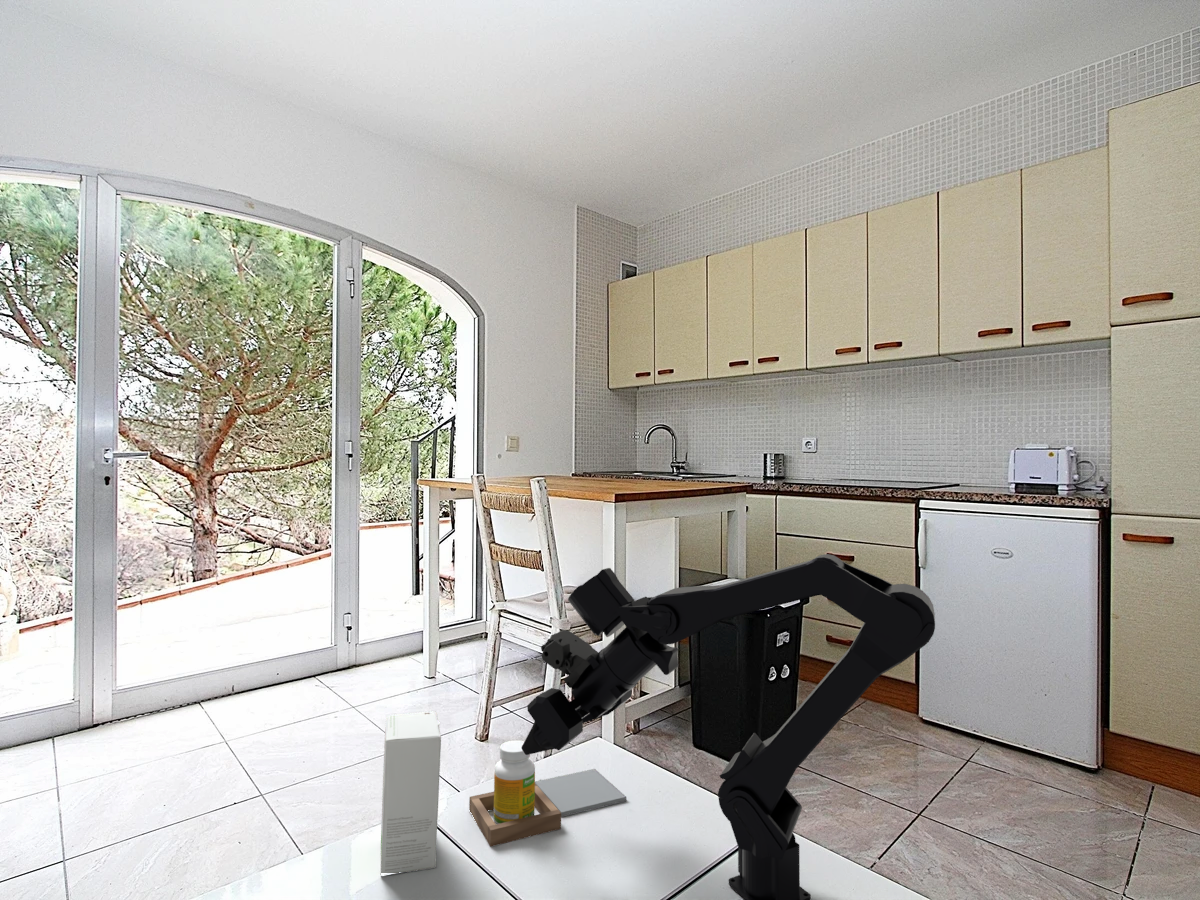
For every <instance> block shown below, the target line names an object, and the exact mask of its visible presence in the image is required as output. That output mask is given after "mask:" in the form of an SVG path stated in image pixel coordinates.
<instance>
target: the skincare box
mask: <svg viewBox="0 0 1200 900" xmlns="http://www.w3.org/2000/svg"><path fill="white" fill-rule="evenodd" d="M385 718H386V719H385V728H384V729H385V730H384V743H383V744H384V746H383V747H384V748H383V766H382V767H383V772H382V792H381V793H382V795H381V797H382V799H381V824H380V825H381V831H380V832H381V833H380V874H381V873H399V872H407V873H412V872H411V871H413V872H418V870H419V871H425V870H429V869H435V868H436V863H437V861H436V860H437V841H438V840H437V839H438V837H437V836H438V816H439V815H438V814H439V797H440V795H439V793H440V792H439V791H440V772H441V750H442V749H441V748H442V736H441V729H440V725H441V722H440V720H439V719H438V714H437V710H433V711H432V710H431V711H423V712H422V711H421V712H420V711H419V712H411V713H401V714H397V713H396V714H389V715H386V717H385ZM416 870H417V871H416ZM409 871H410V872H409Z"/></svg>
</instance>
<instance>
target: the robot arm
mask: <svg viewBox="0 0 1200 900" xmlns="http://www.w3.org/2000/svg"><path fill="white" fill-rule="evenodd" d="M816 596H821V597H822V596H823V597H824V598H826V599H828V600H830V601H831V602H832V603H834V604H836V605H837V606H838V607H840V608H841V609H843V611H845V612H847V613H849V614H850V615H851V616H853V617H854V618H856V619H857V620H859V621H861V622H862V623H863V624H862V626H861V627H860V629H859V631H858V633H857V635H856V637H855V638H854V640H853V642H852V644H851V645H850V646H849V648H848V649H847V650H846V651H845V652H844V654H843V655H842V656H841V657H840V658H839V659H838V660H837V662H836V663H835V664H834V665H833V667H831V669H830V670H829V671H828V672H827V673H826V675H825V676H824V677H823V678H822V679H821V680H820V682H818V684H817V685H816V686H815V688H813V690H812V691H811V692H810V693H809V695H807V697H806V698H805V699H804V700H803V702H802V703H800V704H799V705H798V707H797V708H796V710H794V711H793V713H792V714H791V715H790V717H789V718H788V719H787V720H786V721H785V722H784V723H783V724H782V726H781V727H780V728H779V729H778V730H777V731H776V732H775V734H773V735H772V736H770V737H768V738H767V739H765V740H763V741H762V740H761V738H760V737H759V735H757V733H756V732H753V733H752V735H751V736H750V737H749V739H748V740H747V742H746V743H745V745H744V746H743V748H742V749H741V750H740V751H738V752H736V753H735V754H734V755H733V756H732V758H731V759H730V760H729V762H728V764H727V765H726V766H725V768H724V769H723V771H722V772H721V773H720V775H719V778H720V779H721V780H723V782H722V783H721V785H720V786H719V789H718V792H717V798H718V803H719V807H720V809H721V812H722V814H723V816H724V817H726V819H727V821H728V822H729V824H730V826H731V829H732V832H733V835H734V838H735V841H736V845H737V847H738V848H737V851H738V852H737V856H738V857H737V862H738V863H737V870H738V873H739V874H738V875H735V876H733V877H729V878H728V886H729V887H730V888H732V889H733V890H734V891H735V892H736V893H737V894H739V895H740V896H741V897H742V898H743V899H744V900H810V899H811V897H812V896H811V893H810V892H808V891H807V890H806V889H805V888H803V887H802V886H800V883H801V882H800V872H801V870H800V868H801V867H800V862H801V861H800V844H799V843H798V842H797V841H796V836H795V834H794V833H793V832H794V831H795V828H796V825H797V822H798V820H799V817H800V815H801V812H802V809H803V806H802V805H801V803H800V802H799V801H798V800H797V799H796V797H795V796H794V795H793V794H792V792H790V790H789V789H788V788H787V786H788V785H789V783H790V781H791V779H792V778H793V775H794V773H795V771H796V770H797V769H798V768H799V766H800V765H801V764H802V763H803V762H804V761H805V759H806V758H807V757H808V756H810V755H811V753H812V752H813V751H814V749H815V748H817V746H818V745H819V744H820V743H821V742H822V741H823V739H825V737H826V736H827V735H828V734H829V733H830V732H831V730H832V729H833V728H834V727H835V726H836V725H837V724H838V723H839V721H840V720H841V719H842V718H843V717H844V716H845V715H846V713H848V711H849V710H850V709H851V708H852V707H853V706H854V705H855V703H857V701H858V700H859V699H860V698H861V697H862V695H864V694H865V692H866V691H867V690H868V689H869V688H870V686H872V684H874V682H875V681H876V680H877V679H878V678H879V677H880V676H882V675H883V674H885V673H887V672H889V671H890V670H892V669H894V668H895V667H897V666H899V665H901V664H902V663H904V661H907V660H908V659H909V658H910V657H912V655H914V654H915V653H916V652H918V651H919V650H921V649H922V648H924V646H926V645H927V644H928V643H930V640H931V639H932V638H933V635H934V634H935V629H936V617H935V615H936V613H935V608H934V607H935V606H934V604H933V602H932V600H931V598H930V597H929V596H928V594H926V592H924V591H923V590H922V589H920V588H919V587H917V586H915V585H911V584H908V583H896V584H893V583H891V582H889V581H887V580H885V579H883V578H881V577H879V576H877V575H874V574H872V573H870V572H867V571H865V570H863V569H860V568H859V567H855V566H853V565H851V564H848V563H847V562H845V561H843V560H841V559H840V557H838V556H836V555H833V554H829V553H827V554H826V553H825V554H820V555H818V556H815V558H813V559H809V560H807V561H803V562H800V563H796V564H792V565H789V566H785V567H782V568H777V569H775V570H770V571H767V572H764V573H760V574H757V575H754V576H750V577H746V578H742V579H738V580H736V581H732V582H731V581H730V582H727V583H724V584H719V585H694V586H683V587H675V588H672V589H669V590H668V591H665V592H663V593H660V594H657V595H655V596H651V597H650V596H649V597H647V596H643V597H641V598H639V599H636V600H635V599H634V597H633V596H632V595H631V594H630V593H629V591H628V590H627V588H625V587H624V585H623V584H622V582H621V581H620V580H619V579H618V577H617V574H616V573H615V572H614V570H612V568H611V567H607V568H602V569H601V570H600V571H598V573H597V574H595V575H594V576H592V577H591V578H589V579H588V580H587V581H585V582H584V583H583V584H581V585H579V586H577V587H576V588H575V589H574V590H573V591H572V592H571V593H570V595H569V597H568V599H567V602H568V603H569V604H570V605H571V607H573V609H574V610H575V611H576V612H577V614H578V615H579V616H580V618H581V619H582V621H583V622H584V623H585V624H586V626H587V627H588V628H589V630H590V631H591V633H592V634H593V635H594V636H597V637H600V636H601V635H602V634H604V636H605V637H606V638H609V637H610V636H612V635H613V634H615V633H617V632H618V631H619V630H620V629H621V628H623V626H624V625H625V627H624V628H623V630H622V631H621V632H619V633H618V634H617V636H615V637H614V639H612V640H611V642H609V643H608V644H607V645H606V646H605V647H603V648H602V649H601V650H599V651H597V650H596V649H595V648H593V647H592V645H591V644H589V643H588V642H586V641H585V640H584V639H582V638H580V637H579V636H577V634H575V633H573V632H572V631H569V630H566V629H565V630H561V631H558V632H555V633H554V634H551V635H550V638H547V640H546V642H545V643H544V644H542V645H541V646H540V651H542V654H541V659H542V661H543V662H545V664H547V665H549V666H550V667H551V668H553V669H554V670H558V671H560V672H562V673H563V674H564V675H567V676H566V677H565V678H564V679H563V682H564V683H565V684H566V686H567V687H568V688H569V689H572V690H571V693H572V696H573V698H574V699H572V700H569V698H567V696H566V695H565V693H564V692H563V691H562V689H559V688H554V687H550V688H549V689H547V690H546V691H543V692H541V693H540V694H538V695H536V696H535V697H534V698H533V699H532V700H531V701H530V702H529V703H528V704H527V712H528V713H529V715H530V716H531V718H532V720H533V721H534V722H533V724H532V727H531V728H530V731H529V732H528V734H527V736H526V738H525V740H524V743H523V745H522V750H523V752H524V753H525V754H526V755H529V754H530V755H532V754H537V753H541V752H546V751H552V750H557V751H560V750H562V749H563V748H564V747H566V746H567V745H569V744H570V743H571V742H572V741H574V740H575V739H576V738H577V737H578V736H580V735H581V734H582V733H583V731H584V727H583V726H584V724H585V723H588V722H590V721H595V720H596V719H600V718H601V717H604V716H608V715H609V714H611V713H612V712H614V711H616V709H618V708H620V707H621V706H622V705H623V704H625V703H626V702H627V701H628V700H630V699H631V697H632V692H633V691H632V690H633V689H634V688H635V687H636V686H638V684H639V681H641V679H643V678H644V677H645V676H646V675H648V673H650V672H651V671H652V669H654V668H655V666H657V667H658V669H659V670H660V671H661V672H662V673H663V675H665V676H668V675H670V674H671V673H672V672H674V671H675V670H676V669H678V668H679V658H678V652H679V648H678V647H677V646H676V647H675V646H669V645H675V644H677V643H678V642H681V641H683V640H685V639H687V638H689V637H691V636H693V635H695V634H698V633H699V632H702V631H703V630H705V629H707V628H710V627H711V626H714V625H715V624H717V623H719V622H721V621H724V620H728V619H730V618H735V617H738V616H742V615H746V614H751V613H755V612H758V611H763V610H766V609H769V608H770V609H771V608H774V607H778V606H782V605H786V604H789V603H794V602H796V601H798V602H799V601H801V600H805V599H808V598H809V599H810V598H812V597H816ZM811 900H812V899H811Z"/></svg>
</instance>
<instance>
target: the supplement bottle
mask: <svg viewBox="0 0 1200 900" xmlns="http://www.w3.org/2000/svg"><path fill="white" fill-rule="evenodd" d="M524 742H525V740H524V741H523V740H508V741H505V742H503V743H501V745H500V747H499V759H500V760H499V761H497V762H496V763H495V766H494V775H493V776H494V778H493V781H494V783H493V792H494V810H493V821H494V822H495V824H500V823H504V822H509V821H513V820H517V819H521V818H525V817H529V816H534V815H535V811H536V808H535V781H536V766H535V763H534V761H533V760H532V759H531V758H530V757H531V754H529V755H526V754H525V753H524V752H523V750H522V745H523V743H524Z"/></svg>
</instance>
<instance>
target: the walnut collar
mask: <svg viewBox="0 0 1200 900" xmlns="http://www.w3.org/2000/svg"><path fill="white" fill-rule="evenodd" d="M468 800H469V803H468V806H469V807H468V808H469V810H470V812H471V813H472V815H473V817H474V819H475V820H474V819H473V820H474V822H475V821H476V822H475V824H476V823H477V824H476V825H477V827H478V828H479V830H480V832H481V834H482V835H483V837H484V839H485V840H486V842H487V844H488V845H489V847H490V848H491V847H495V846H499V845H503V844H506V843H511V842H515V841H519V840H523V839H526V838H529V837H530V838H531V837H534V836H539V835H542V834H546V833H550V832H554V831H558V830H561V829H562V817H561V812H560V811H559V810H558V809H557V808H556V807H555V805H554V804H553V803H552V802H551V801H550V800H549V799H548V797H547V796H546V795H545V794H544V793H543V792H542V791H541V789H540V788H539V787H538V786H537V785H536V784H535V810H536V811H537V812H538V813H537V814H534V816H529V817H525V818H521V819H517V820H513V821H509V822H504V823H500V824H495V822H494V818H493V817H491V815H490V813H489V811H488V810H492V811H494V810H493V809H494V791H490V792H486V793H485V792H484V793H482V794H481V793H480V794H476V795H472V796H469V799H468ZM469 810H468V811H469ZM470 812H469V813H470ZM473 817H472V818H473Z"/></svg>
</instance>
